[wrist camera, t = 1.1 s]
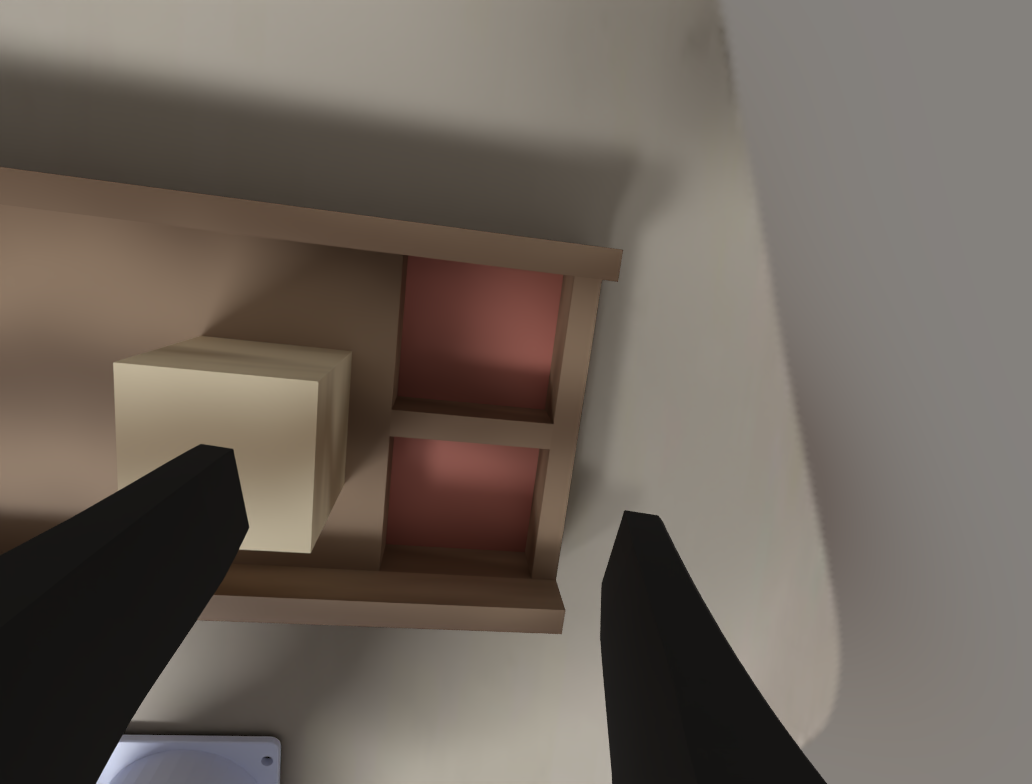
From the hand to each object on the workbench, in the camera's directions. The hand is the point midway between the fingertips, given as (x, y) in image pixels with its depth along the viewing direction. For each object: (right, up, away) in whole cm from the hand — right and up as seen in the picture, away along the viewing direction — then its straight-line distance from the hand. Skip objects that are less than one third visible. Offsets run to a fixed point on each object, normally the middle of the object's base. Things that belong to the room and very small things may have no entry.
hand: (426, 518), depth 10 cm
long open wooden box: (-11, +3, +11) cm, 16 cm away
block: (-7, +2, +9) cm, 12 cm away
